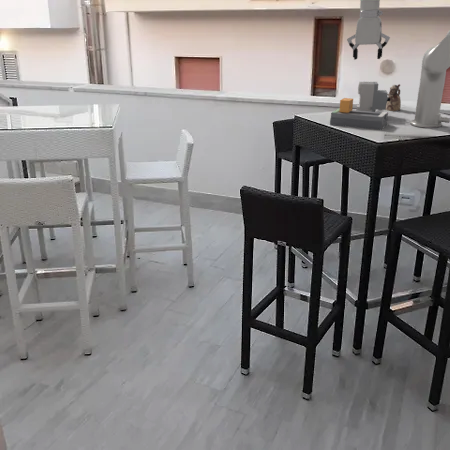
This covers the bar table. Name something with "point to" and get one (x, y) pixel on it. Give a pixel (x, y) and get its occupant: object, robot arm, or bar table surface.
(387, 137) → the bar table surface
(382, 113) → the switch panel
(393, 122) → the bar table surface
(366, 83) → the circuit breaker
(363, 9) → the robot arm
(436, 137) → the bar table surface
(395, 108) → the figurine
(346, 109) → the toggle
